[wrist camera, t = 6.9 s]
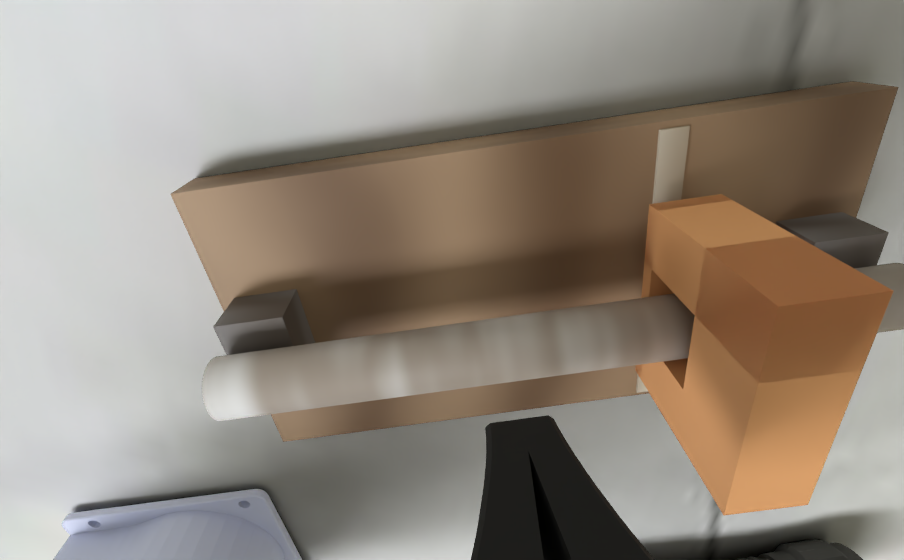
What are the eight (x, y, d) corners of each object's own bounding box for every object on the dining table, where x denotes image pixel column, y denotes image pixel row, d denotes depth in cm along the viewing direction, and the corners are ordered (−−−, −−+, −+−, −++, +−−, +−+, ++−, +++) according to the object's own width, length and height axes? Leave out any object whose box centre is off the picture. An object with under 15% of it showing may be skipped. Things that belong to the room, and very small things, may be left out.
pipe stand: (293, 412, 19) (252, 529, 14) (194, 178, 14) (88, 246, 10) (778, 347, 18) (888, 447, 14) (852, 81, 13) (1056, 106, 9)
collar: (635, 370, 15) (723, 515, 11) (648, 204, 13) (778, 306, 8) (693, 362, 15) (807, 504, 11) (721, 193, 13) (893, 290, 8)
